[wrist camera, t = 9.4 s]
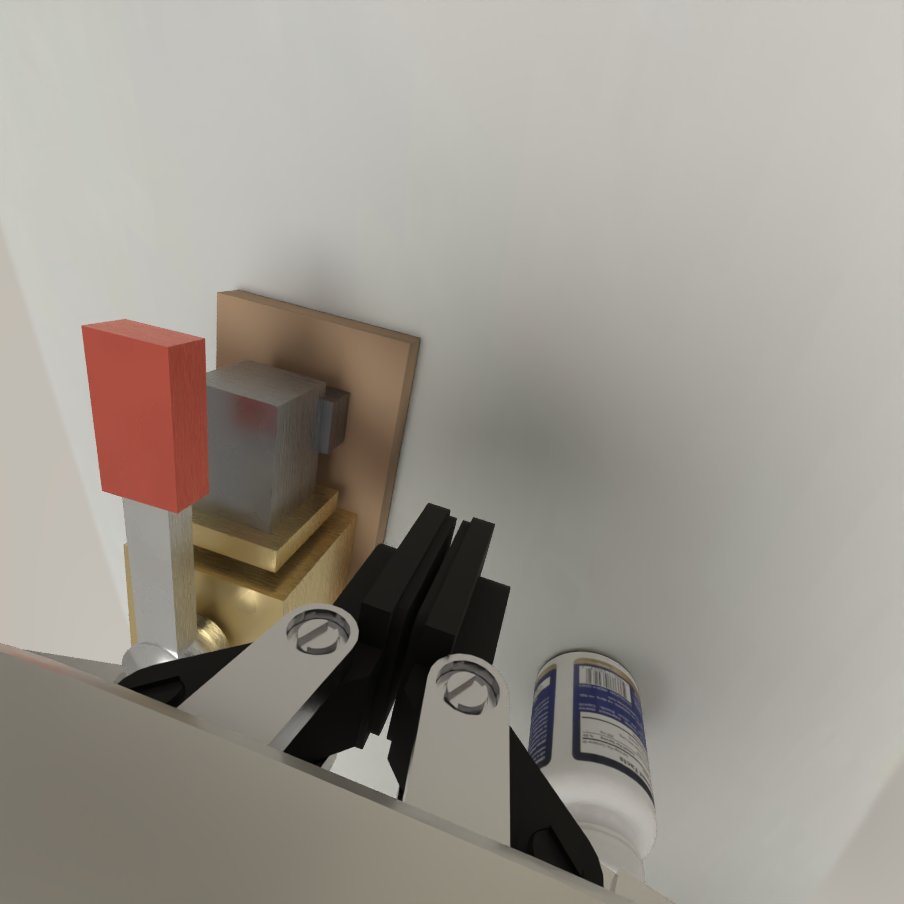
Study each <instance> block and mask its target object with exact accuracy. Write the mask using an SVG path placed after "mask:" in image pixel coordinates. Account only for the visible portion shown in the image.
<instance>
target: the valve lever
mask: <svg viewBox="0 0 904 904" xmlns="http://www.w3.org/2000/svg"><path fill="white" fill-rule="evenodd" d="M82 334H83V342H84V350H85V358H86V366H87V374H88V382H89V390H90V398H91V406H92V414H93V422H94V430H95V438H96V445H97V453H98V461H99V469H100V477H101V485H102V491H104V492H108V493H111V494H114V495H117V496H121V497H122V498H123V508H124V517H125V526H126V536H127V545H128V554H129V564H130V573H131V582H132V592H133V601H134V610H135V619H136V629H137V638H138V642H137V643H135V644H134V645H133V646H132V647H131V648H130V649H129V650H128V651H127V652H126V653H125V655H124V656H123V659H122V665H124V666H126V673H130V674H132V673H134V672H135V671H137V670H139V669H142V668H145V667H148V666H151V665H155V664H159V663H164V662H168V661H172V660H177V659H181V658H186V657H190V656H194V655H199V654H203V653H208V652H212V651H216V650H221V649H225V648H230V647H229V644H228V641H227V639H226V637H225V635H224V634H223V632H222V631H221V630H220V628H219V627H218V626H217V625H216V624H215V623H214V622H213V621H211V620H210V619H209V618H207V617H205V616H204V615H202V614H200V613H197V612H196V594H195V571H194V548H193V525H192V504H193V503H195V502H196V501H198V500H199V499H201V498H203V497H204V496H206V495H207V494H209V468H208V431H207V393H206V356H205V338H201V337H197V336H192V335H188V334H184V333H180V332H176V331H172V330H168V329H164V328H160V327H155V326H151V325H147V324H143V323H139V322H135V321H131V320H127V319H123V320H116V321H109V322H102V323H96V324H89V325H82Z"/></svg>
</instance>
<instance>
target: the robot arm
mask: <svg viewBox="0 0 904 904" xmlns="http://www.w3.org/2000/svg"><path fill="white" fill-rule="evenodd" d="M456 520H457V518H455V517H452V516H450V510H449V509H446V508H443V507H440V506H437V505H434V504H430V503H428V504H427V505H426V507H425V508H424V510H423V511H422V513H421V514H420V516H419V517H418V519H417V520H416V522H415V523H414V525H413V526H412V528H411V529H410V531H409V532H408V534H407V535H406V537H405V538H404V540H403V541H402V543H401V544H400V546H399V547H398V549H396V548H393V547H390V546H387V545H384V544H382V543H380V544H378V545H377V546H376V547H375V549H374V550H373V551H372V553H371V554H370V555H369V557H368V558H367V559H366V561H365V562H364V563H363V565H362V566H361V567H360V569H359V570H358V571H357V573H356V574H355V575H354V577H353V578H352V579H351V581H350V582H349V583H348V585H347V586H346V587H345V589H344V590H343V591H342V593H341V594H340V595H339V597H338V598H337V599H336V601H335V602H334V603H333V605H330V604H322V603H316V604H307V605H304V606H301V607H298V608H295V609H294V610H292V611H291V612H289V613H287V614H286V615H285V616H284V617H282V618H281V619H280V620H279V621H278V622H277V623H275V624H274V625H273V626H272V627H271V628H270V629H268V630H267V631H266V632H265V633H264V634H263V635H261V636H260V637H259V638H258V639H257V640H256V641H254V642H252V643H247V644H243V645H238V646H234V647H230V648H225V649H221V650H216V651H212V652H208V653H203V654H199V655H194V656H190V657H186V658H181V659H177V660H172V661H168V662H164V663H159V664H155V665H151V666H148V667H145V668H142V669H139V670H137V671H135V672H134V673H132V674H130V673H126V666H124V665H118V664H111V663H104V662H98V661H92V660H86V659H80V658H73V657H67V656H61V655H54V654H48V653H42V652H35V651H29V650H23V649H19V648H16V647H13V646H9V645H5V644H1V643H0V904H675V903H673V902H672V901H670V900H669V899H667V898H666V897H664V896H663V895H661V894H660V893H658V892H657V891H655V890H654V889H652V888H651V887H649V886H648V885H646V884H645V883H643V882H642V881H640V880H639V879H637V878H636V877H634V876H633V875H631V874H630V873H628V872H627V871H625V870H624V869H622V868H621V867H619V869H618V871H617V872H616V873H615V872H613V871H612V870H610V869H609V868H607V867H606V866H604V865H603V864H601V863H600V862H599V858H598V856H597V854H596V852H595V850H594V848H593V847H592V845H591V843H590V841H589V839H588V838H587V836H586V835H585V834H584V832H583V831H582V829H581V828H580V826H579V825H578V823H577V822H576V821H575V819H574V818H573V816H572V815H571V813H570V812H569V810H568V809H567V808H566V806H565V805H564V803H563V802H562V800H561V799H560V798H559V796H558V795H557V793H556V792H555V790H554V789H553V787H552V786H551V785H550V783H549V782H548V780H547V779H546V777H545V776H544V774H543V773H542V772H541V770H540V769H539V767H538V766H537V764H536V763H535V761H534V760H533V759H532V757H531V756H530V754H529V753H528V751H527V750H526V748H525V747H524V746H523V744H522V743H521V741H520V740H519V738H518V737H517V735H516V734H515V733H514V731H513V730H512V728H511V727H510V725H509V693H508V688H507V684H506V683H505V681H504V679H503V677H502V675H501V674H500V673H499V672H498V671H497V670H496V669H495V668H494V667H493V666H492V664H493V660H494V656H495V652H496V647H497V643H498V639H499V635H500V630H501V626H502V622H503V618H504V613H505V609H506V605H507V600H508V596H509V592H510V586H507V585H504V584H501V583H498V582H495V581H492V580H489V579H486V578H483V577H480V576H481V572H482V569H483V565H484V562H485V558H486V555H487V551H488V548H489V544H490V541H491V537H492V534H493V530H494V527H495V524H493V523H490V522H487V521H484V520H481V519H478V518H475V517H473V519H472V521H471V522H467V521H464V520H463V521H462V523H461V525H460V527H459V530H458V532H457V534H456V536H455V538H454V540H453V542H452V544H451V541H452V537H453V533H454V529H455V525H456ZM450 545H451V546H450ZM395 699H396V700H395ZM394 702H395V704H394ZM393 704H394V708H393V713H392V717H391V721H390V725H389V730H388V734H387V739H388V740H390V741H392V742H391V746H390V750H389V754H388V761H389V763H390V766H391V768H392V770H393V772H394V774H395V777H396V779H397V781H398V783H399V787H398V791H397V795H396V799H395V798H393V797H390V796H388V795H385V794H383V793H381V792H378V791H376V790H373V789H371V788H369V787H366V786H364V785H361V784H359V783H357V782H354V781H352V780H349V779H347V778H344V777H342V776H340V775H337V774H335V773H332V772H330V769H331V768H332V766H333V764H334V762H335V760H336V756H337V753H338V752H341V751H344V750H346V749H349V748H352V747H357V748H360V749H363V747H364V745H365V743H366V741H367V738H368V736H369V734H370V733H373V734H375V735H378V736H379V735H380V733H381V731H382V729H383V727H384V724H385V722H386V720H387V717H388V715H389V713H390V711H391V708H392V706H393Z"/></svg>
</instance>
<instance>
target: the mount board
mask: <svg viewBox="0 0 904 904" xmlns="http://www.w3.org/2000/svg"><path fill="white" fill-rule="evenodd" d="M419 344H420V338H418V337H414V336H410V335H407V334H403V333H399V332H395V331H392V330H388V329H384V328H380V327H376V326H373V325H369V324H365V323H361V322H358V321H354V320H350V319H346V318H342V317H339V316H335V315H331V314H327V313H323V312H320V311H316V310H312V309H308V308H305V307H301V306H297V305H293V304H289V303H286V302H282V301H278V300H274V299H271V298H267V297H263V296H259V295H255V294H252V293H248V292H244V291H240V290H234V291H225V292H217V357H216V369H220V368H223V367H226V366H229V365H232V364H235V363H238V362H241V361H244V360H251V361H254V362H258V363H261V364H265V365H268V366H272V367H275V368H279V369H282V370H286V371H289V372H293V373H296V374H300V375H303V376H307V377H311V378H314V379H318V380H321V381H325V382H326V386H330V387H333V388H337V389H340V390H344V391H347V392H351V393H350V400H349V408H348V416H347V423H346V431H345V439H344V442H342V443H341V444H340V445H339V446H337V447H336V448H335V449H334V450H332V451H331V452H330V453H329V454H324V453H321V452H319V456H318V465H317V474H316V484H318V485H321V486H324V487H328V488H331V489H334V490H337V491H338V499H337V507H338V508H341V509H344V510H347V511H350V512H353V513H356V514H358V519H357V525H356V532H355V539H354V545H353V552H352V558H351V565H350V571H349V578H348V583H349V582H350V581H351V579H352V578H353V577H354V575H355V574H356V573H357V571H358V570H359V569H360V567H361V566H362V565H363V563H364V562H365V561H366V559H367V558H368V557H369V555H370V554H371V553H372V551H373V550H374V549H375V547H376V546H377V545H378V544H380V543H382V544H383V542H384V536H385V531H386V525H387V520H388V514H389V509H390V503H391V498H392V492H393V487H394V481H395V476H396V470H397V465H398V459H399V454H400V448H401V443H402V437H403V432H404V426H405V421H406V415H407V410H408V404H409V399H410V393H411V388H412V382H413V377H414V371H415V366H416V360H417V355H418V349H419Z"/></svg>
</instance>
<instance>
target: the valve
mask: <svg viewBox="0 0 904 904" xmlns="http://www.w3.org/2000/svg"><path fill="white" fill-rule="evenodd" d="M206 393H207V431H208V468H209V494H207V495H206V496H204V497H203V498H201V499H199V500H198V501H196V502H195V503H193V504H192V525H193V548H194V571H195V594H196V612H197V613H200V614H202V615H204V616H205V617H207V618H209V619H210V620H211V621H213V622H214V623H215V624H216V625H217V626H218V627H219V628H220V630H221V631H222V632H223V634H224V635H225V637H226V639H227V641H228V644H229V647H234V646H238V645H243V644H247V643H252V642H254V641H256V640H257V639H258V638H259V637H260V636H261V635H263V634H264V633H265V632H266V631H267V630H268V629H270V628H271V627H272V626H273V625H274V624H275V623H277V622H278V621H279V620H280V619H281V618H282V617H284V616H285V615H286V614H287V613H289V612H291V611H292V610H294V609H295V608H298V607H301V606H304V605H307V604H316V603H322V604H330V605H333V603H334V602H335V601H336V599H337V598H338V597H339V595H340V594H341V593H342V591H343V590H344V589H345V587H346V586H347V585H348V578H349V571H350V565H351V558H352V552H353V545H354V539H355V532H356V525H357V519H358V514H356V513H353V512H350V511H347V510H344V509H341V508H338V507H337V499H338V491H337V490H334V489H331V488H328V487H324V486H321V485H318V484H316V474H317V465H318V456H319V452H321V453H324V454H329V453H330V452H331V451H332V450H334V449H335V448H336V447H337V446H339V445H340V444H341V443H342V442H344V439H345V431H346V423H347V416H348V408H349V400H350V393H351V392H347V391H344V390H340V389H337V388H333V387H330V386H326V382H325V381H321V380H318V379H314V378H311V377H307V376H303V375H300V374H296V373H293V372H289V371H286V370H282V369H279V368H275V367H272V366H268V365H265V364H261V363H258V362H254V361H251V360H244V361H241V362H238V363H235V364H232V365H229V366H226V367H223V368H220V369H216V370H213V371H210V372H207V373H206ZM124 555H125V568H126V581H127V594H128V607H129V621H130V634H131V646H133V645H134V644H135V643H137V642H138V638H137V629H136V619H135V610H134V601H133V592H132V582H131V573H130V564H129V554H128V545H127V543H126V544H124Z"/></svg>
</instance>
